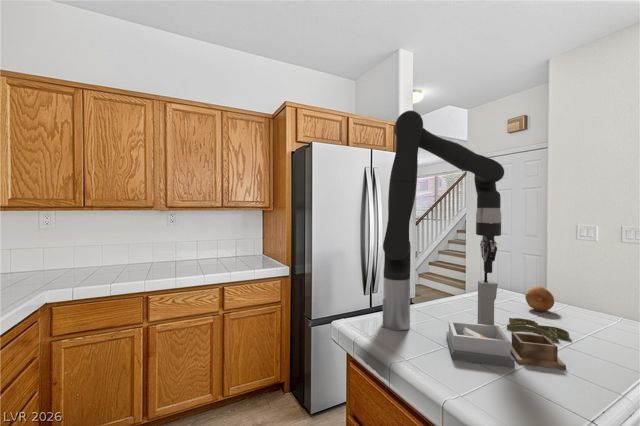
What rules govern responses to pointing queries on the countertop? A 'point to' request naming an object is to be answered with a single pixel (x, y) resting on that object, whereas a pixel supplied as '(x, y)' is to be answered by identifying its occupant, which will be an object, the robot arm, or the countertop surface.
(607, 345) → the countertop surface
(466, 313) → the countertop surface
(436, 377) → the countertop surface
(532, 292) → the onion
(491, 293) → the vintage mobile phone
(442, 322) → the countertop surface
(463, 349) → the box
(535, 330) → the cookie cutter
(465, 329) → the plate
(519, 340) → the stand
